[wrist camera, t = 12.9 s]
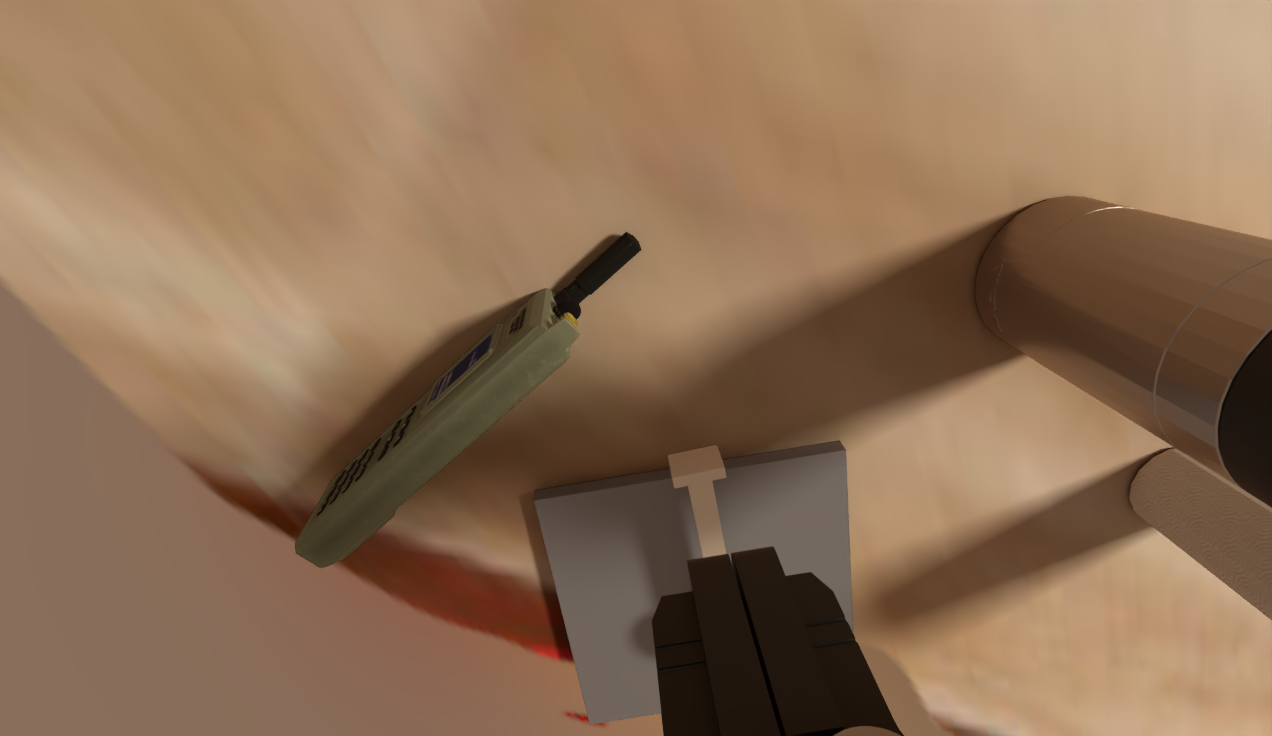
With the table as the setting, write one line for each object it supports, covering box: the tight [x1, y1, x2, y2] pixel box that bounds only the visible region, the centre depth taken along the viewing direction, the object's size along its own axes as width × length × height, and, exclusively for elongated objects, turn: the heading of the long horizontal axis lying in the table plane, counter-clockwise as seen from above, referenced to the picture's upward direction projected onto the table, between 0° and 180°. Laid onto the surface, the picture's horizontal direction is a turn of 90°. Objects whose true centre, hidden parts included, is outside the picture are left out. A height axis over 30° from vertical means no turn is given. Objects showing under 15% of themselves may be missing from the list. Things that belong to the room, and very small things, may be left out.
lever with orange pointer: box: [668, 445, 727, 558], centre depth 44 cm, size 22×4×4 cm, turn 12°
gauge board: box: [534, 441, 853, 725], centre depth 47 cm, size 20×20×2 cm
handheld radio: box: [295, 232, 641, 568], centre depth 38 cm, size 7×3×25 cm
